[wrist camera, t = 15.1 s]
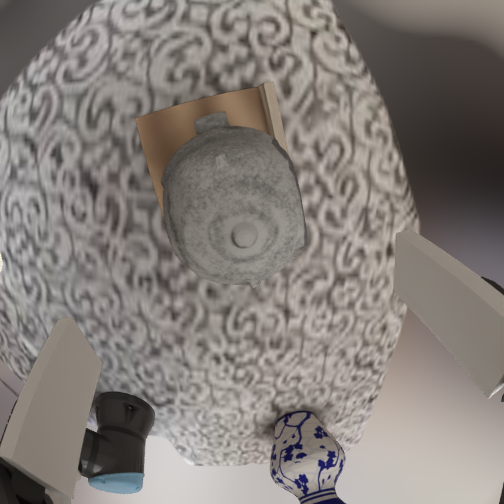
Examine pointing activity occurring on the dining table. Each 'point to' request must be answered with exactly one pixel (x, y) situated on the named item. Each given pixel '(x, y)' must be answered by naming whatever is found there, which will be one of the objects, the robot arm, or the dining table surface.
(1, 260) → the wineglass
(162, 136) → the shelf board
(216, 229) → the figurine
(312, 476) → the vase
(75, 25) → the dining table surface
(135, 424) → the robot arm
